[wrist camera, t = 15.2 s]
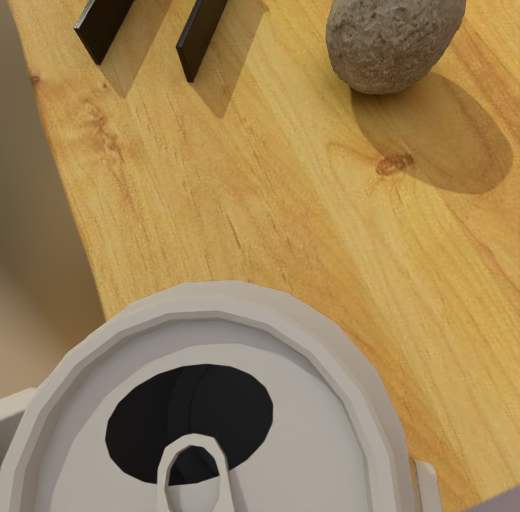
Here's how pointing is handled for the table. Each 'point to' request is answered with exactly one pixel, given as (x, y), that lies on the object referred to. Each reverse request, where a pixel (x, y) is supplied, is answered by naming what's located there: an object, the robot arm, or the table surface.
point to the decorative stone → (389, 40)
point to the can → (211, 414)
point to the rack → (114, 11)
